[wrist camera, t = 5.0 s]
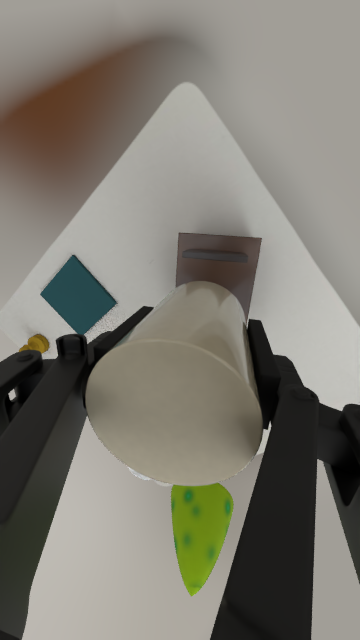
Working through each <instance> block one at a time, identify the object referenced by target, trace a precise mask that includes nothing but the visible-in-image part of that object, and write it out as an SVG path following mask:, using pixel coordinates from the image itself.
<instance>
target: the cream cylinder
mask: <svg viewBox="0 0 360 640" xmlns="http://www.w3.org/2000/svg"><path fill="white" fill-rule="evenodd" d="M85 405H86V411H87V415H88V418H89V421H90V423H91V425H92V428H93V430H94V432H95V433H96V435H97V436H98V438H99V439H100V440H101V442H102V443H103V445H104V446H105V447H106V448H107V449H108V450H109V451H110V452H111V453H112V454H113V455H114V456H115V457H116V458H117V459H118V460H120V461H121V462H123V463H124V464H125V465H127V466H128V467H130V468H131V469H133V470H134V471H136V472H138V473H140V474H142V475H144V476H147V477H149V478H152V479H154V480H157V481H161V482H164V483H168V484H173V485H181V486H204V485H210V484H215V483H218V482H221V481H224V480H226V479H229V478H231V477H233V476H235V475H236V474H238V473H239V472H241V471H242V470H243V469H244V468H245V467H246V466H247V465H248V464H249V463H250V462H251V461H252V460H253V458H254V456H255V455H256V453H257V451H258V449H259V446H260V443H261V441H262V435H263V417H262V411H261V406H260V400H259V394H258V389H257V383H256V377H255V372H254V366H253V360H252V355H251V349H250V344H249V338H248V332H247V327H246V321H245V316H244V312H243V309H242V307H241V305H240V303H239V301H238V300H237V298H236V297H235V296H234V295H233V294H232V293H231V292H230V291H228V290H227V289H226V288H224V287H222V286H220V285H218V284H215V283H212V282H207V281H192V282H188V283H185V284H182V285H180V286H179V287H177V288H175V289H174V290H173V291H171V292H170V293H169V294H168V295H167V296H166V297H165V298H164V299H163V300H162V301H161V302H160V303H159V304H158V305H157V306H156V307H155V308H154V309H152V310H151V311H150V312H149V313H148V314H147V315H146V316H145V317H144V318H143V319H142V320H141V321H140V322H139V323H138V324H137V325H136V326H135V327H133V328H132V329H131V330H130V331H129V332H128V333H127V334H126V335H125V336H124V337H123V338H122V339H121V340H120V341H119V342H118V343H117V344H116V345H114V346H113V347H112V348H111V349H110V350H109V351H108V352H107V353H106V354H105V355H104V356H103V357H102V358H101V359H100V360H99V361H98V362H97V364H96V365H95V366H94V368H93V369H92V371H91V374H90V376H89V378H88V382H87V385H86V391H85Z"/></svg>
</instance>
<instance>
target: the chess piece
mask: <svg viewBox="0 0 360 640" xmlns="http://www.w3.org/2000/svg"><path fill="white" fill-rule="evenodd" d="M48 348H49V343H48V341H47V339H46V338H45V337H44V336H42V335H35V336H33V337H31V338H29V340H28V345H24V346H23V347H22V348H20V350H19V352H21V351H23V350H37V351H40V352H41V354H42V353H43V352H45V351H47V350H48Z"/></svg>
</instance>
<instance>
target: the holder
mask: <svg viewBox="0 0 360 640" xmlns="http://www.w3.org/2000/svg"><path fill="white" fill-rule="evenodd" d="M261 240H262V238H253V237H238V236H222V235H207V234H192V233H179V238H178V256H177V274H176V288H177V287H179V286H180V285H182V284H185V283H188V282H192V281H207V282H212V283H215V284H218V285H220V286H222V287H224V288H226V289H227V290H228V291H230V292H231V293H232V294H233V295H234V296H235V297H236V298H237V300H238V301H239V303H240V305H241V307H242V309H243V312H244V316H245V321H246V324H247V318H248V313H249V307H250V302H251V296H252V290H253V285H254V279H255V274H256V268H257V262H258V257H259V251H260V246H261Z"/></svg>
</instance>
